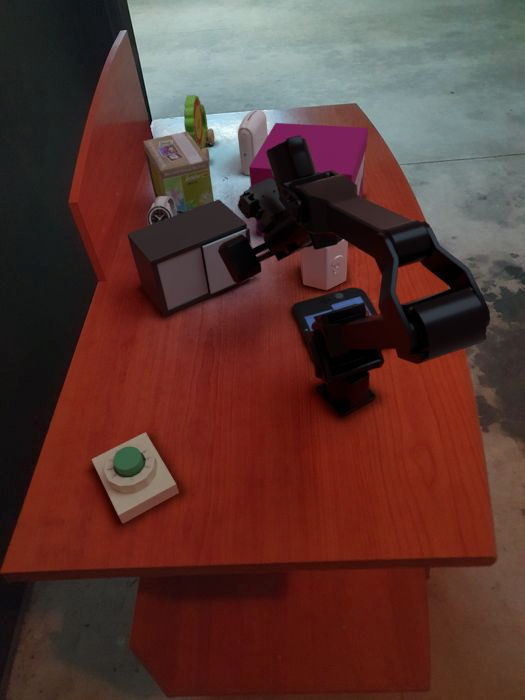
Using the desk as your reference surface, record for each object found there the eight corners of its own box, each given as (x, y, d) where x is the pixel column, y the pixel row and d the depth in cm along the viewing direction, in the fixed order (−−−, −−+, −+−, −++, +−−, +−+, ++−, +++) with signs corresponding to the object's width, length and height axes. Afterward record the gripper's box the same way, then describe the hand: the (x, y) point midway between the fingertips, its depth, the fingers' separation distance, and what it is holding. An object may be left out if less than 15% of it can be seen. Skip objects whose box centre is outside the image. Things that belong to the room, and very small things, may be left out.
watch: (153, 260, 112) (140, 211, 104) (164, 236, 117) (153, 188, 110) (180, 261, 111) (170, 212, 103) (190, 237, 117) (181, 189, 109)
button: (148, 468, 74) (145, 460, 72) (122, 482, 72) (119, 474, 71) (137, 449, 76) (134, 441, 75) (112, 462, 75) (108, 454, 73)
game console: (291, 308, 99) (290, 298, 97) (360, 293, 101) (361, 283, 99) (315, 366, 89) (315, 356, 87) (392, 349, 90) (394, 339, 89)
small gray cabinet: (252, 278, 106) (246, 223, 97) (164, 317, 100) (150, 261, 91) (226, 253, 112) (218, 199, 103) (142, 288, 106) (126, 233, 98)
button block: (179, 492, 75) (173, 476, 72) (122, 524, 72) (114, 508, 69) (148, 441, 81) (142, 424, 78) (95, 468, 78) (87, 451, 76)
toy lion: (195, 141, 148) (186, 80, 137) (216, 140, 147) (208, 79, 136) (185, 171, 137) (173, 108, 126) (207, 171, 136) (198, 107, 125)
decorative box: (348, 245, 111) (352, 174, 100) (255, 236, 115) (249, 167, 105) (363, 195, 123) (368, 127, 113) (279, 188, 128) (275, 122, 117)
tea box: (219, 225, 119) (209, 158, 109) (173, 237, 117) (158, 171, 107) (198, 192, 129) (187, 128, 119) (155, 203, 127) (140, 139, 117)
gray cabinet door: (264, 285, 102) (260, 238, 95) (220, 304, 99) (213, 257, 92) (252, 274, 104) (248, 227, 97) (210, 292, 102) (202, 246, 94)
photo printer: (256, 177, 132) (252, 124, 124) (239, 175, 134) (234, 123, 125) (271, 156, 139) (268, 105, 130) (254, 154, 140) (250, 104, 131)
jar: (317, 296, 101) (317, 239, 92) (290, 274, 106) (288, 218, 97) (356, 277, 104) (360, 220, 95) (328, 256, 109) (329, 200, 100)
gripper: (323, 150, 82) (280, 190, 97) (216, 197, 75) (187, 232, 90) (358, 219, 83) (310, 249, 98) (256, 272, 76) (220, 295, 91)
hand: (258, 254), depth 94 cm, fingers open, 9 cm apart
